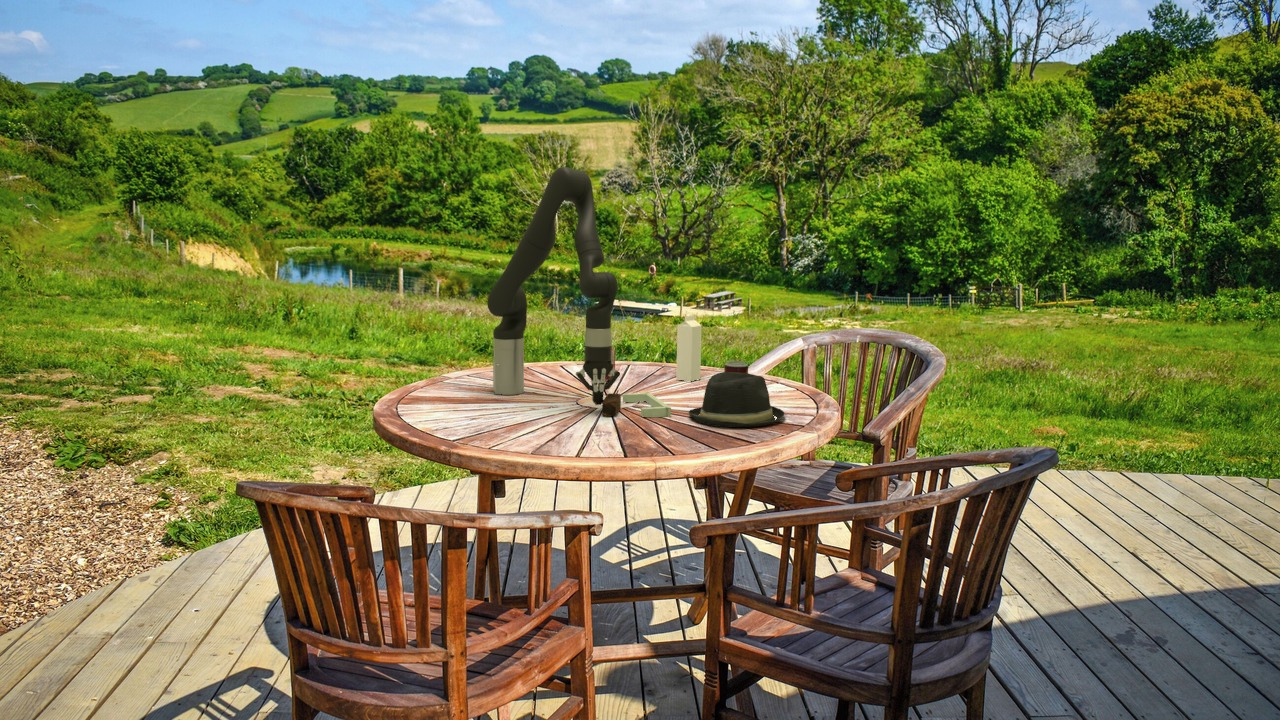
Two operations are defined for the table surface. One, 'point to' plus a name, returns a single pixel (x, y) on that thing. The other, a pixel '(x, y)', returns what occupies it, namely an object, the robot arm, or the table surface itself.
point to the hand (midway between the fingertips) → (597, 404)
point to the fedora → (736, 402)
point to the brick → (611, 405)
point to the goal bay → (657, 405)
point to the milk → (688, 349)
